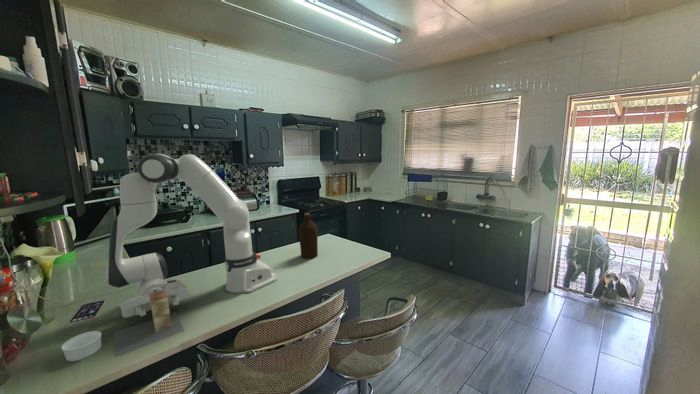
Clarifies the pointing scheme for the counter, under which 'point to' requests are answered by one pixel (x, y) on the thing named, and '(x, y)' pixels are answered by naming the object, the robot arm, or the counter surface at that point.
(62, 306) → the counter surface
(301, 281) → the counter surface
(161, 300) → the birch block
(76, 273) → the counter surface
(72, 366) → the counter surface
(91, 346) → the ramekin
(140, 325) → the rubber mat
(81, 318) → the smartphone
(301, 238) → the olive oil
